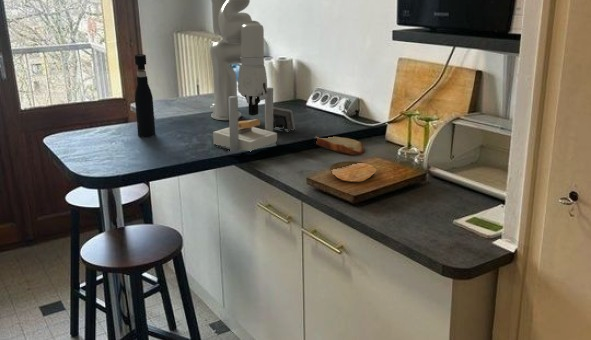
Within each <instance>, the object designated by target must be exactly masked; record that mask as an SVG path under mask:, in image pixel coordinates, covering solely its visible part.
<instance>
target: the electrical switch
mask: <svg viewBox="0 0 591 340" xmlns="http://www.w3.org/2000/svg"><path fill="white" fill-rule="evenodd" d="M293 114H294V113H293V111H292V110H291V109H289V108H282V107H277V106H273V128H275V127H279V128H283V127H284V129H288V131H289V130H291V129H295V130H296V125H295V120H294V115H293Z"/></svg>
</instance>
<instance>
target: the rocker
mask: <svg viewBox="0 0 591 340" xmlns="http://www.w3.org/2000/svg"><path fill="white" fill-rule="evenodd" d="M260 125H261V121H260V119H259V118H258V119H257V118H256V119H255V118H254V119H248V120H238V129H243V128H251V127H255V128H256V127H257V126H260Z"/></svg>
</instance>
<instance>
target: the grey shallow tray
mask: <svg viewBox="0 0 591 340" xmlns="http://www.w3.org/2000/svg"><path fill="white" fill-rule="evenodd" d="M238 134H239V149H242V150H247V151H250V152H251V151H252V150H254V149H257V148H260V147H263V146H266V145H269V144H271V143H274V142H276V141H277V142H278V133H277V132H275V131H273V132H271V131H267V130H265V129H263V128H258V127H256V126H255V127H251V128H243V129H238ZM212 136H213V138H212V140H213V145H214V144H216V145H221V146H226V147H230V129H229V127H225V128H222V129H219V130H216V131H213V132H212Z"/></svg>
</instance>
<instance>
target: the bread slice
mask: <svg viewBox="0 0 591 340" xmlns="http://www.w3.org/2000/svg"><path fill="white" fill-rule="evenodd" d="M317 136H318V135H315V137H316V138H317V141H316V144H315V145H317V146H319V147H321V148H324V149H327V150H330V151H333V152H336V153H340V154H344V155H349V156H361V155H364V153H365V149H364V147H363V143H362V142H361V141H359V140H357V139H354V138H353V139H352V138H349V137H340V136H333V135H332V136H333V137H328V138H319V137H317Z"/></svg>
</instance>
